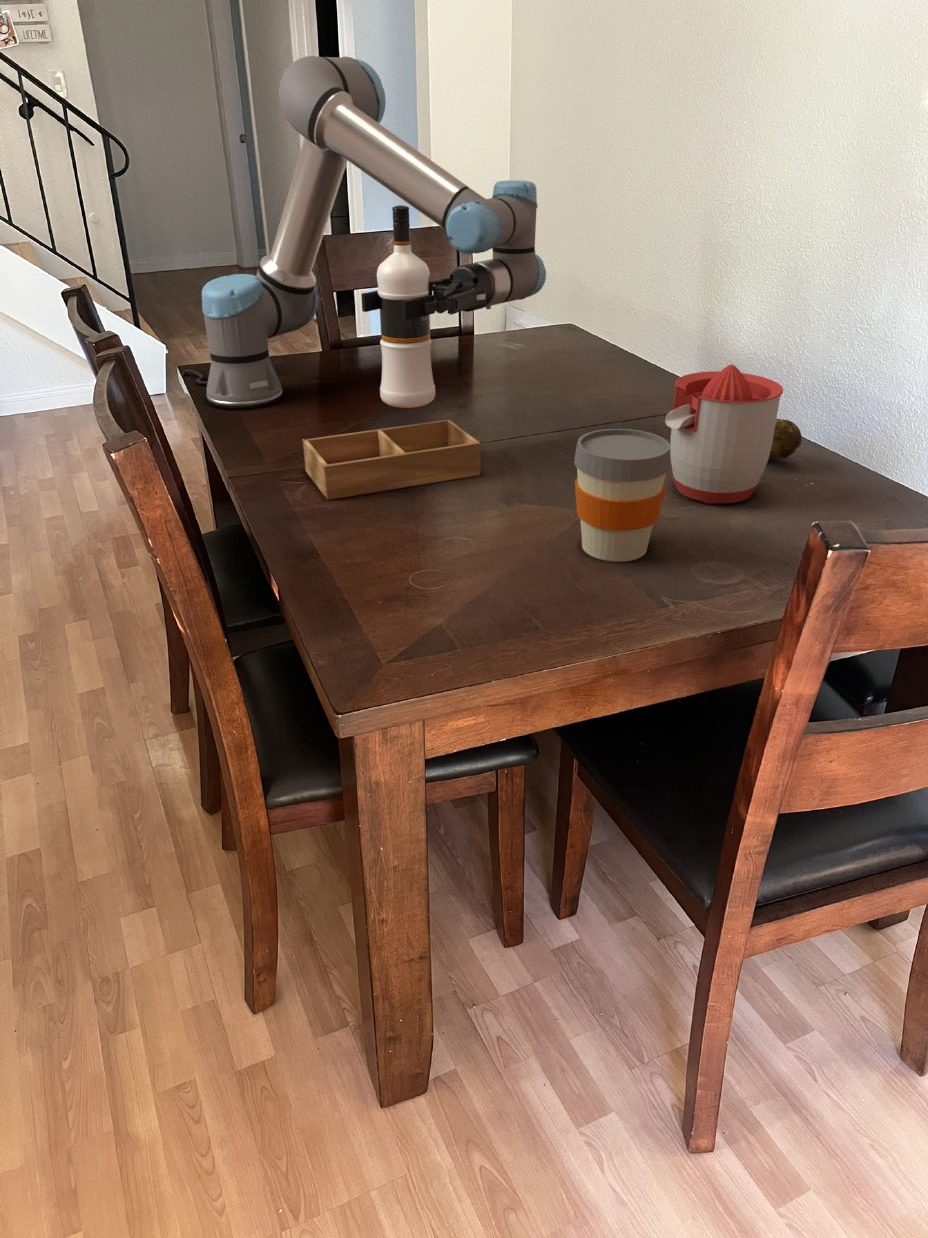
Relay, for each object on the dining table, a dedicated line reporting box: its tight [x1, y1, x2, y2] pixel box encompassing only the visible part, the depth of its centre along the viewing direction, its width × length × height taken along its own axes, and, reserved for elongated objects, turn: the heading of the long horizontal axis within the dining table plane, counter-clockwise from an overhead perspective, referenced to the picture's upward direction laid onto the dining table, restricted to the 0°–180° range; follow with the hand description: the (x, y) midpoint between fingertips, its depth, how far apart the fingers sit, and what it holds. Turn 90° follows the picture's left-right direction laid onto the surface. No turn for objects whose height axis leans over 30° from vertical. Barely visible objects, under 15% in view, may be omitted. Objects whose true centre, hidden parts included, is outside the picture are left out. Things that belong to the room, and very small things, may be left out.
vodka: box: [376, 204, 436, 409], centre depth 143 cm, size 9×9×30 cm
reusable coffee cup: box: [573, 428, 671, 563], centre depth 121 cm, size 13×13×15 cm
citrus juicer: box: [664, 363, 784, 505], centre depth 136 cm, size 16×17×20 cm
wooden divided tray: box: [302, 419, 481, 501], centre depth 148 cm, size 13×26×6 cm, turn 113°
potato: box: [768, 418, 803, 461], centre depth 152 cm, size 8×13×8 cm, turn 12°
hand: (383, 306), depth 140 cm, fingers closed on vodka, 8 cm apart
